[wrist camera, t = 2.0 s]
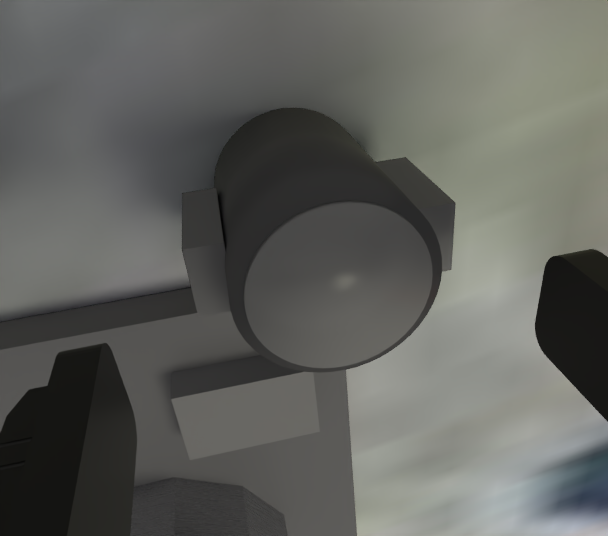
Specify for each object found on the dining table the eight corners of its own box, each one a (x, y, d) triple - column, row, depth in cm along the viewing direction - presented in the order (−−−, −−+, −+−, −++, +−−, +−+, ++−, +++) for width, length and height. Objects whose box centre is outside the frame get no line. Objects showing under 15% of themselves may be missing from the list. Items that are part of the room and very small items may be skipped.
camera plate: (328, 262, 18) (350, 307, 16) (353, 582, 28) (369, 637, 26) (-116, 343, 16) (-164, 406, 14) (84, 651, 27) (75, 716, 24)
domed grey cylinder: (387, 93, 15) (491, 164, 10) (388, 233, 18) (473, 349, 13) (172, 124, 15) (165, 218, 9) (203, 265, 17) (212, 403, 12)
